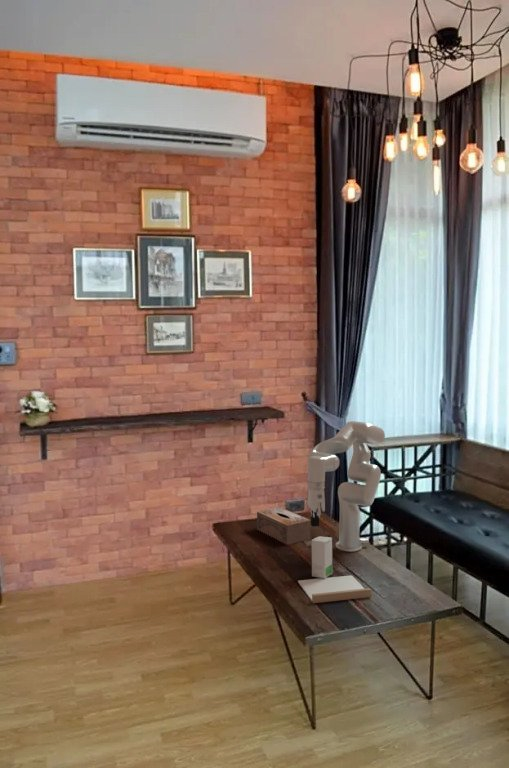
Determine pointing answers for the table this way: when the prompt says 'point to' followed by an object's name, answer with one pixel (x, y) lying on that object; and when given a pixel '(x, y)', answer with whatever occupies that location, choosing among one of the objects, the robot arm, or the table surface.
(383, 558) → the table surface
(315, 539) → the skincare box
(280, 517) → the tissue box cover
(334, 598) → the white flat piece
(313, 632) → the table surface
